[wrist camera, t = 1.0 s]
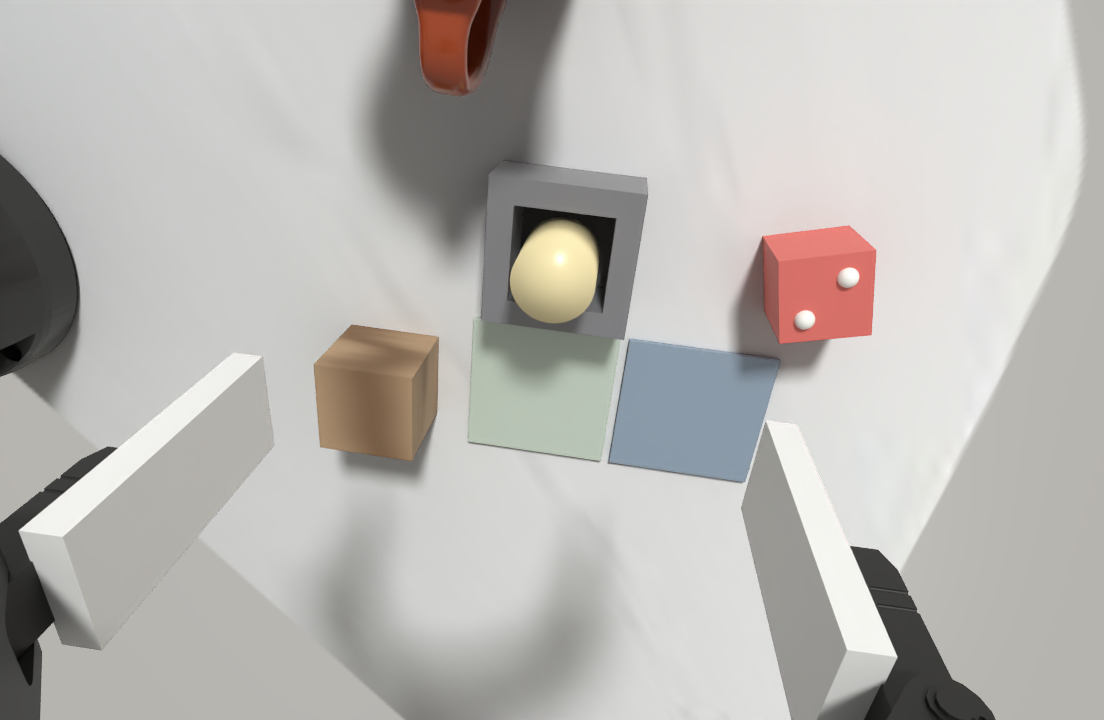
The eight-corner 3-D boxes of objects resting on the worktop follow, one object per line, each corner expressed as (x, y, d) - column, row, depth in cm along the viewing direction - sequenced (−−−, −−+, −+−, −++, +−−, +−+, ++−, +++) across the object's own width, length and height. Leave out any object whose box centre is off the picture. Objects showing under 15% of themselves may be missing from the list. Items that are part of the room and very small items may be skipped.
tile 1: (469, 438, 39) (468, 441, 39) (475, 317, 36) (473, 319, 35) (600, 457, 39) (600, 460, 39) (620, 337, 35) (620, 339, 35)
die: (764, 310, 34) (781, 348, 30) (762, 235, 32) (780, 264, 28) (845, 302, 33) (874, 339, 29) (848, 225, 31) (879, 253, 27)
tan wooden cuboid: (355, 399, 39) (320, 447, 35) (352, 324, 37) (313, 364, 32) (437, 411, 39) (412, 461, 34) (439, 336, 36) (412, 378, 32)
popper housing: (494, 294, 35) (480, 320, 32) (502, 160, 32) (488, 174, 28) (624, 311, 34) (623, 339, 31) (646, 178, 31) (648, 194, 28)
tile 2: (609, 459, 39) (609, 462, 38) (629, 338, 35) (629, 341, 35) (744, 478, 38) (744, 482, 38) (779, 359, 35) (780, 361, 34)
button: (521, 285, 32) (507, 317, 28) (527, 212, 30) (512, 236, 26) (594, 294, 32) (589, 328, 28) (604, 222, 30) (600, 248, 26)
